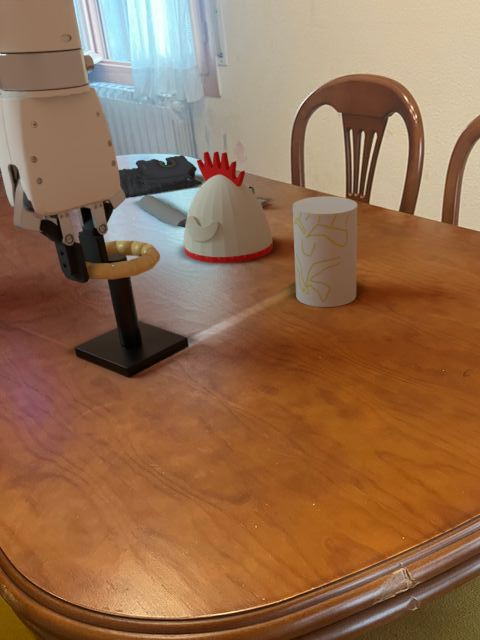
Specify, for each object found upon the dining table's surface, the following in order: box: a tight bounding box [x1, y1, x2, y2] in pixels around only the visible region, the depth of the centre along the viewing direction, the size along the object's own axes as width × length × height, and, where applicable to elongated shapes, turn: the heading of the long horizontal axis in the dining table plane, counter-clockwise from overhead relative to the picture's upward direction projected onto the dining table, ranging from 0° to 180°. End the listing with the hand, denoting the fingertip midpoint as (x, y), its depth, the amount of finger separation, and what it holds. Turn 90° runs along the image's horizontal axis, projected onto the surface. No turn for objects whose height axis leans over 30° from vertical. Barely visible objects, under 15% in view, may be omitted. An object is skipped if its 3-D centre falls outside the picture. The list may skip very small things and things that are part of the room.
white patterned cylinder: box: [292, 195, 358, 308], centre depth 86 cm, size 8×8×12 cm
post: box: [73, 254, 189, 378], centre depth 73 cm, size 9×9×11 cm
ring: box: [85, 240, 161, 281], centre depth 70 cm, size 9×9×2 cm
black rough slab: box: [118, 154, 202, 198], centre depth 141 cm, size 15×22×5 cm
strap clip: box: [246, 185, 268, 208], centre depth 124 cm, size 8×3×4 cm, turn 149°
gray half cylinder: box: [138, 194, 187, 228], centre depth 122 cm, size 4×20×2 cm, turn 33°
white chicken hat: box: [183, 151, 274, 264], centre depth 100 cm, size 14×14×15 cm
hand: (87, 274), depth 68 cm, fingers closed on ring, 2 cm apart
